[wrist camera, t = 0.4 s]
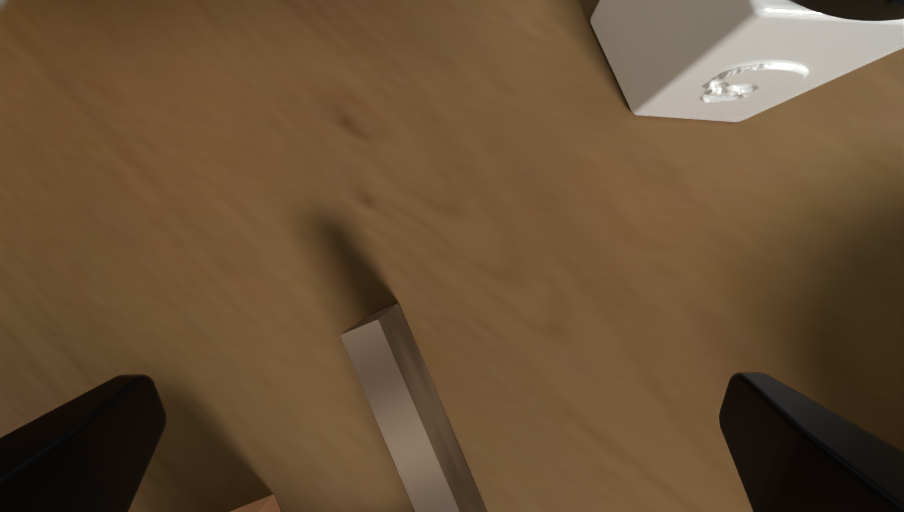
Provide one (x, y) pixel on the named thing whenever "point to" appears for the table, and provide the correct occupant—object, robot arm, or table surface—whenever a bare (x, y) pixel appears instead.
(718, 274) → the table surface
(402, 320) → the walnut pen
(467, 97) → the table surface
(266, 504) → the terracotta block
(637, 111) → the jar
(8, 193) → the table surface
